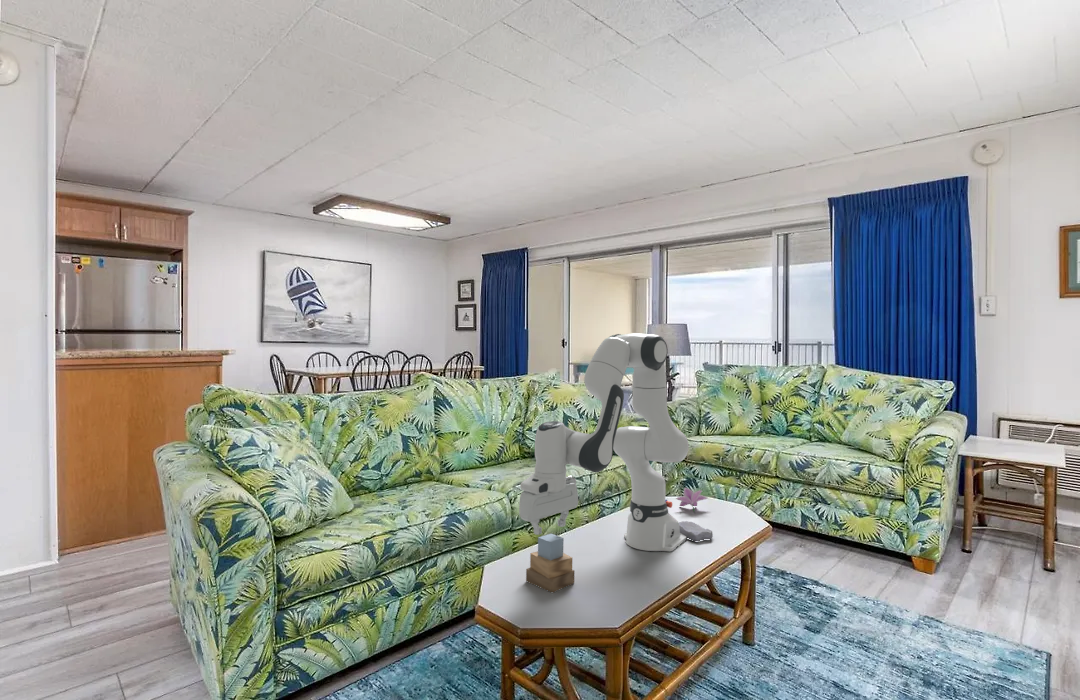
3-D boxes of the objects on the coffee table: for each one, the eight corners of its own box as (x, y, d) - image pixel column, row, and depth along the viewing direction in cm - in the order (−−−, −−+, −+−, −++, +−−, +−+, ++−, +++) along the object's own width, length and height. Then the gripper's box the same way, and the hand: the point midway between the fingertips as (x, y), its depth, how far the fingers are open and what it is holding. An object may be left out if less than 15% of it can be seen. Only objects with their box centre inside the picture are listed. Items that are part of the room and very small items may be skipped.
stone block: (693, 534, 204) (671, 532, 200) (696, 521, 204) (674, 519, 200) (715, 546, 193) (693, 544, 189) (718, 532, 193) (696, 530, 189)
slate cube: (550, 550, 160) (551, 533, 160) (563, 555, 156) (563, 538, 156) (537, 555, 157) (538, 537, 157) (550, 560, 153) (550, 542, 153)
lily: (712, 513, 227) (706, 490, 231) (705, 508, 217) (700, 484, 222) (683, 518, 231) (678, 495, 236) (675, 514, 222) (670, 490, 226)
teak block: (553, 561, 163) (553, 547, 163) (572, 572, 155) (572, 557, 155) (530, 567, 158) (530, 553, 158) (548, 578, 151) (548, 563, 151)
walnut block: (548, 574, 163) (548, 560, 163) (574, 584, 156) (574, 570, 156) (526, 583, 157) (526, 568, 157) (551, 594, 150) (552, 579, 150)
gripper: (567, 472, 166) (567, 518, 166) (515, 484, 152) (515, 535, 152) (583, 476, 161) (583, 524, 162) (531, 489, 147) (531, 541, 147)
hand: (549, 529), depth 157 cm, fingers open, 8 cm apart
